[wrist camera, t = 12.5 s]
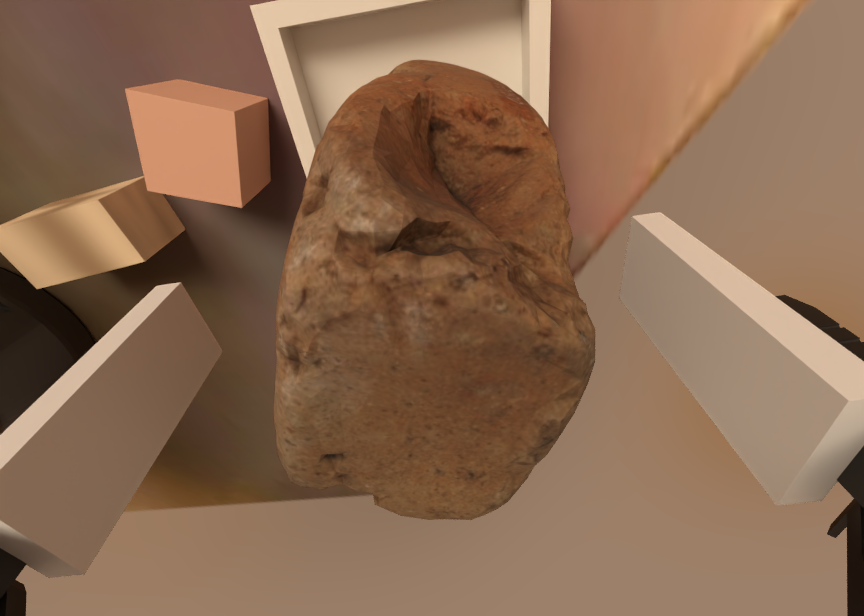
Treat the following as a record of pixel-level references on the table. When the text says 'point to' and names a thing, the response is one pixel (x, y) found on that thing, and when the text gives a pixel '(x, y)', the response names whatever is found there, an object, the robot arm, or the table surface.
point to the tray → (395, 50)
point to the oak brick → (89, 233)
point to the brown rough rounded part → (429, 298)
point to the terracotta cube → (201, 141)
